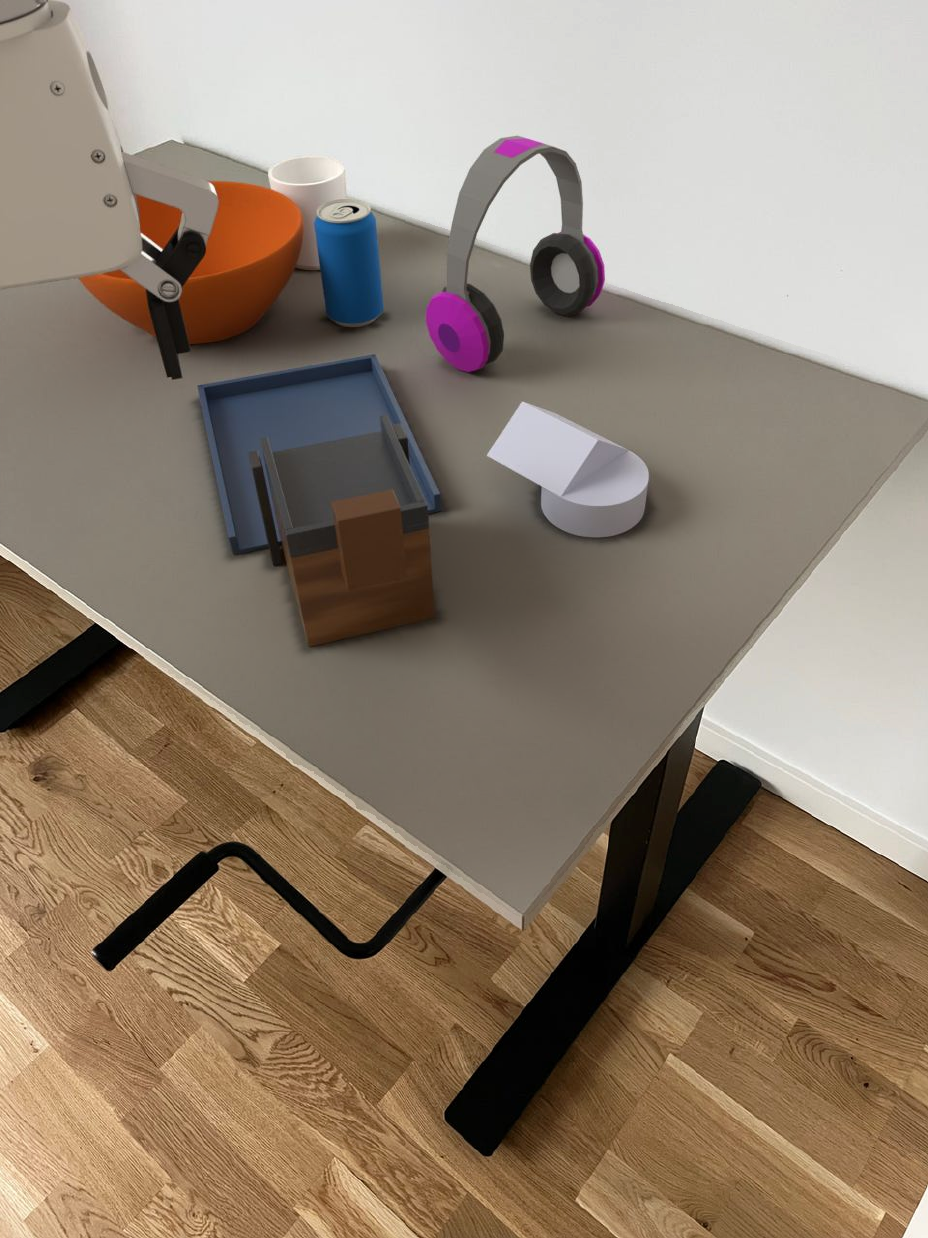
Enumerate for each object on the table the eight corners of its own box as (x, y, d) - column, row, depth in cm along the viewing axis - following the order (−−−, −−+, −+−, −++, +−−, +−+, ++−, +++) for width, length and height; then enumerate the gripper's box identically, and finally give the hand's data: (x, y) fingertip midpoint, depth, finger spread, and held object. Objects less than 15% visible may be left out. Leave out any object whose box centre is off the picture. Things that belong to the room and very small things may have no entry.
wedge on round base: (486, 486, 88) (599, 552, 82) (486, 422, 83) (605, 487, 77) (553, 443, 93) (665, 502, 86) (556, 380, 88) (675, 438, 81)
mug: (329, 277, 118) (318, 190, 110) (267, 264, 120) (252, 178, 113) (375, 240, 124) (367, 155, 117) (315, 228, 127) (303, 145, 120)
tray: (441, 511, 86) (440, 493, 85) (232, 555, 82) (228, 537, 81) (376, 369, 103) (375, 353, 101) (201, 401, 99) (197, 385, 98)
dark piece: (450, 578, 66) (447, 498, 62) (304, 611, 65) (289, 531, 60) (389, 435, 78) (381, 358, 73) (264, 460, 76) (248, 382, 72)
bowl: (60, 372, 104) (28, 282, 97) (125, 264, 122) (102, 181, 114) (297, 371, 103) (282, 280, 96) (327, 262, 121) (317, 178, 113)
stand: (448, 614, 77) (443, 514, 70) (294, 650, 75) (272, 550, 67) (409, 520, 85) (401, 422, 78) (269, 549, 83) (247, 451, 76)
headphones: (548, 289, 114) (555, 104, 100) (609, 314, 110) (625, 123, 95) (420, 360, 104) (407, 164, 90) (480, 390, 99) (477, 189, 85)
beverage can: (395, 310, 111) (386, 204, 103) (361, 335, 108) (349, 227, 99) (349, 297, 114) (337, 192, 105) (315, 321, 110) (299, 214, 102)
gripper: (162, -61, 41) (239, 318, 53) (-296, -19, 38) (-103, 375, 50) (178, -19, 36) (259, 390, 48) (-350, 34, 33) (-119, 459, 45)
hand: (75, 382), depth 49 cm, fingers open, 9 cm apart
